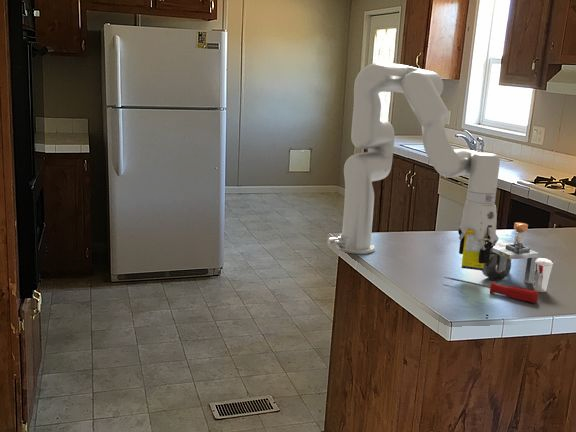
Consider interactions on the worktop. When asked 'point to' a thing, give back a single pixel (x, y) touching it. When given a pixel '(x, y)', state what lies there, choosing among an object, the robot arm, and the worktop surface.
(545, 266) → the milkshake
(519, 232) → the light bulb
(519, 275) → the worktop surface
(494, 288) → the screwdriver
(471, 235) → the supplement box
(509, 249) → the grey flat-topped wheeled fixture
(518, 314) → the worktop surface
